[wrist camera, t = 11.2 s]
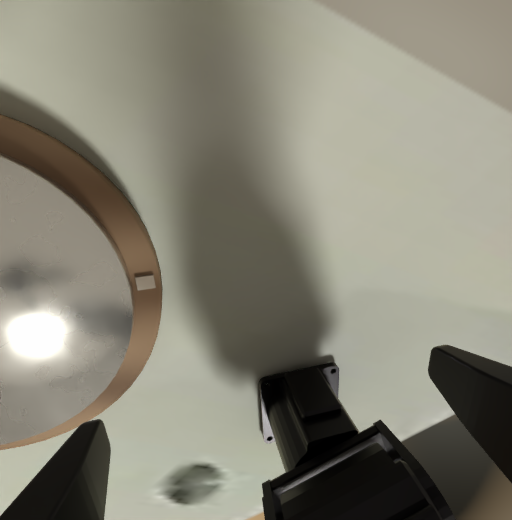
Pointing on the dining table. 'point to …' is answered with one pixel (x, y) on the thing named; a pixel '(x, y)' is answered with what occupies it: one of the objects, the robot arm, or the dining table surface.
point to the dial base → (123, 234)
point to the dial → (55, 304)
